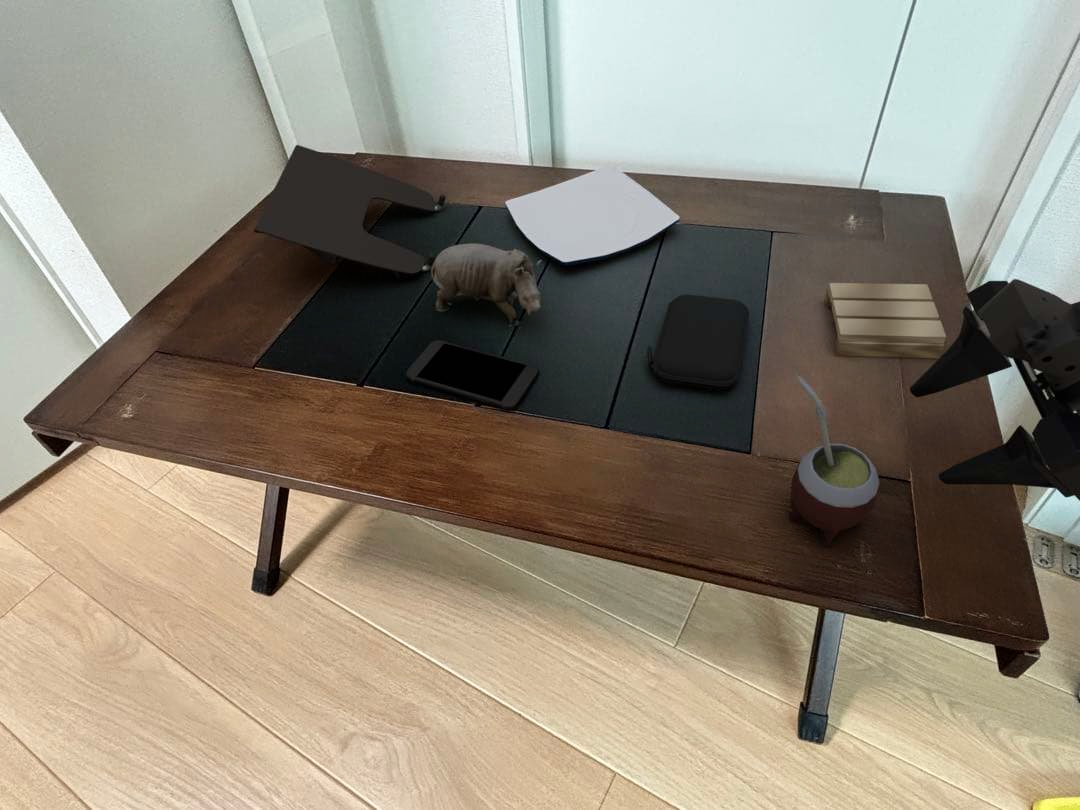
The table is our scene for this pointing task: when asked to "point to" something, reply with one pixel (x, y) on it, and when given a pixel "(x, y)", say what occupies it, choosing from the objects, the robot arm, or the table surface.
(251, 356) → the table surface
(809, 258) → the table surface
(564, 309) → the table surface
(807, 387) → the mate gourd
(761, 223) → the table surface
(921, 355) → the rack
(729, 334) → the carrying case
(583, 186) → the plate
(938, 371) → the robot arm
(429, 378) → the smartphone
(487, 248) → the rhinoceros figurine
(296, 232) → the laptop tray
